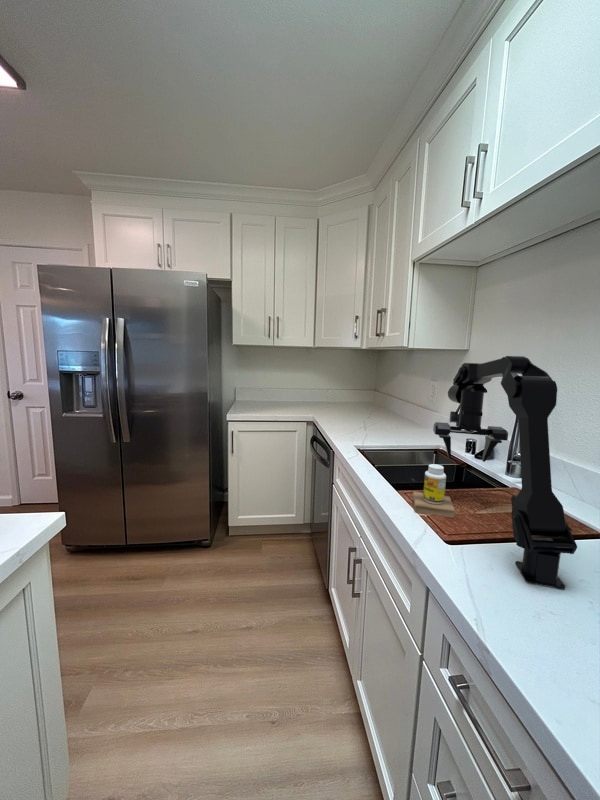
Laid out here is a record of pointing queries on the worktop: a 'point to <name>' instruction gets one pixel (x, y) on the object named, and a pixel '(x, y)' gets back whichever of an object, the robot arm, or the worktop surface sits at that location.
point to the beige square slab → (433, 506)
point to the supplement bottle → (434, 484)
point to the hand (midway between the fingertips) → (466, 459)
